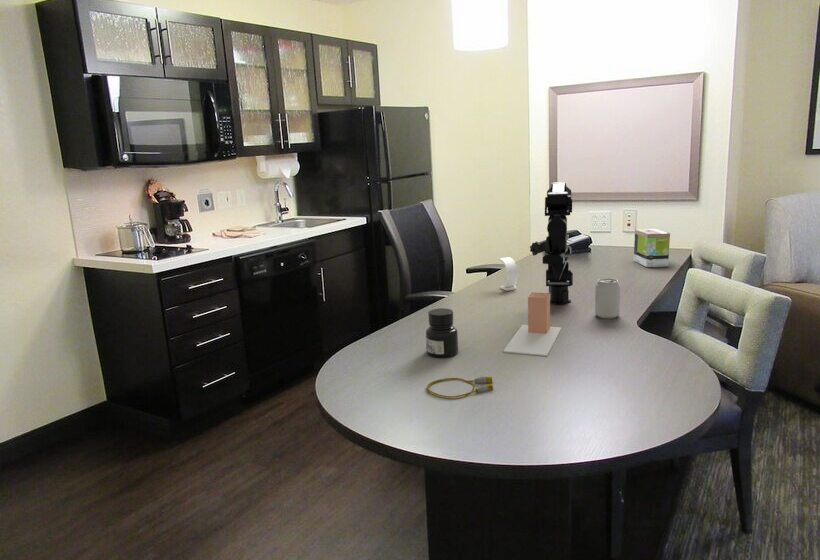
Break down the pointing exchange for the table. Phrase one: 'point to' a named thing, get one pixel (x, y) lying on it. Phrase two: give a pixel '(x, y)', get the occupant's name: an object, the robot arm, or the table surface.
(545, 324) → the block
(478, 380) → the extension cord
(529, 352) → the mat
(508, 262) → the headphone stand
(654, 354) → the table surface
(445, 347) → the ink bottle
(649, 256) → the tea box
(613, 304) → the can
